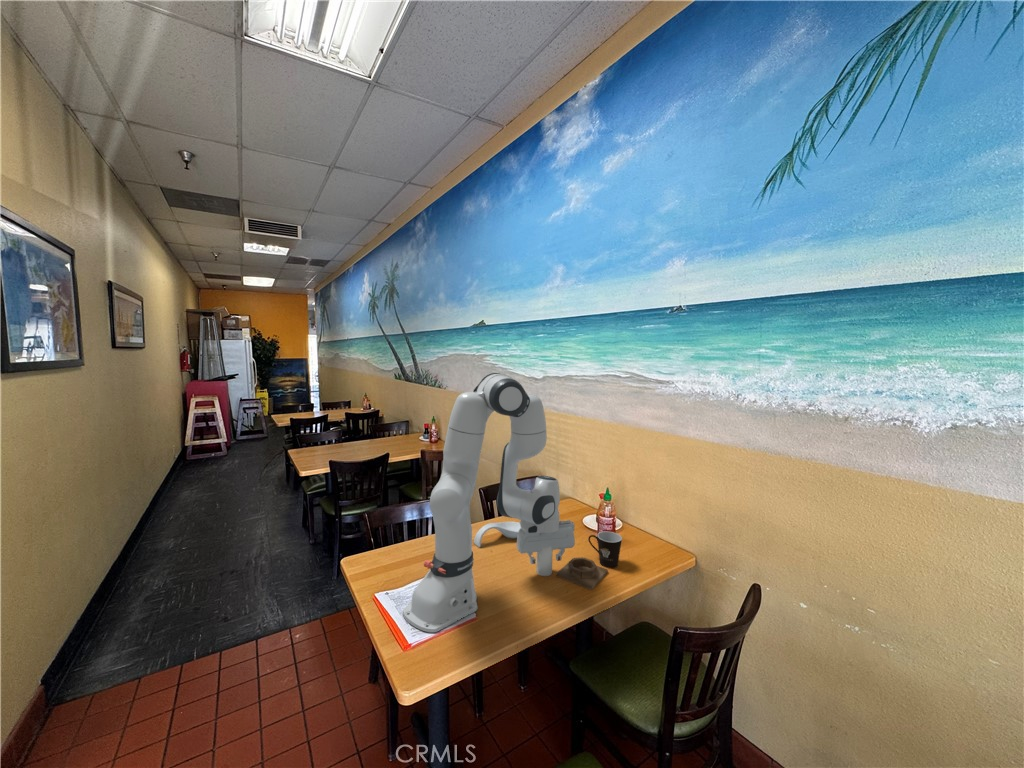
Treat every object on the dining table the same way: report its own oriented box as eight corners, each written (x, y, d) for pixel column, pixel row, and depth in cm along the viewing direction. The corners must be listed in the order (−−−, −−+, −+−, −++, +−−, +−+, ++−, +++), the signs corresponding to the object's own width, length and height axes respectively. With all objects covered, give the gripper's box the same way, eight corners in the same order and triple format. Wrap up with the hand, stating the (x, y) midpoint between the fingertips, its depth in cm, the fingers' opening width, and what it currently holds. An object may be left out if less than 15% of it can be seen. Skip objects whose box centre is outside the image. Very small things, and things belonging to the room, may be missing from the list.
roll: (546, 578, 129) (547, 549, 129) (533, 572, 133) (534, 544, 132) (554, 571, 134) (555, 543, 133) (541, 566, 137) (542, 538, 136)
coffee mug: (626, 566, 138) (627, 539, 137) (608, 572, 134) (609, 544, 133) (603, 551, 148) (604, 526, 147) (586, 557, 144) (586, 531, 143)
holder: (591, 590, 123) (591, 579, 123) (556, 575, 131) (556, 565, 131) (607, 572, 134) (608, 562, 133) (574, 560, 141) (574, 551, 141)
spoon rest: (516, 527, 169) (516, 511, 169) (533, 537, 160) (533, 520, 159) (469, 541, 155) (469, 523, 155) (484, 553, 146) (484, 534, 145)
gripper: (571, 516, 137) (570, 553, 138) (515, 521, 132) (515, 560, 133) (578, 523, 131) (577, 562, 132) (520, 529, 126) (520, 570, 127)
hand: (545, 561), depth 133 cm, fingers open, 8 cm apart
